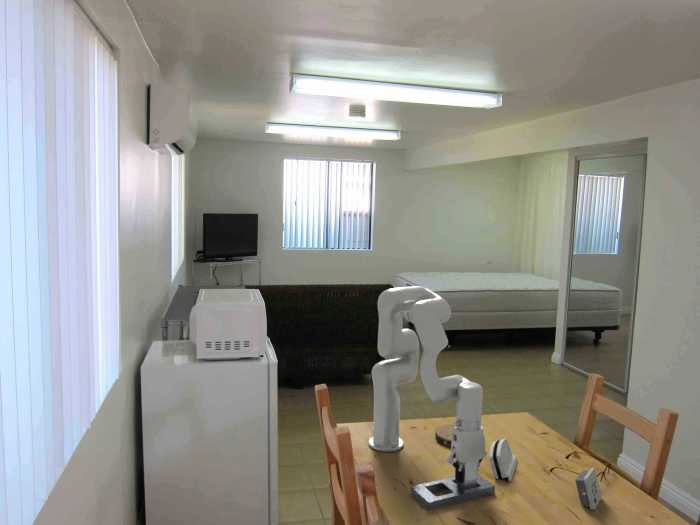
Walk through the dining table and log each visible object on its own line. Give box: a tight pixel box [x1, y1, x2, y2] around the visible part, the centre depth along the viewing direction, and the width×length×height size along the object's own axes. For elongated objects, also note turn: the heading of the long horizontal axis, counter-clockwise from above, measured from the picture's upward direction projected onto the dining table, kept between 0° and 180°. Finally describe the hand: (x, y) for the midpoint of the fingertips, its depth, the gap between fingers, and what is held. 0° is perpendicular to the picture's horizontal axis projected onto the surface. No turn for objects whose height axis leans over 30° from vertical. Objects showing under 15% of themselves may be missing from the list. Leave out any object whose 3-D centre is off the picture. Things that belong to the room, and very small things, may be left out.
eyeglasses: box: [549, 451, 612, 483], centre depth 188 cm, size 16×16×4 cm
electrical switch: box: [575, 467, 602, 511], centre depth 169 cm, size 9×5×9 cm, turn 143°
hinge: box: [488, 438, 518, 482], centre depth 189 cm, size 17×5×10 cm, turn 156°
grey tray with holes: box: [410, 473, 496, 511], centre depth 172 cm, size 10×24×2 cm, turn 115°
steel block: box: [456, 460, 478, 490], centre depth 174 cm, size 4×4×10 cm
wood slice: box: [434, 423, 456, 448], centre depth 212 cm, size 16×16×3 cm
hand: (466, 479), depth 174 cm, fingers closed on steel block, 4 cm apart
